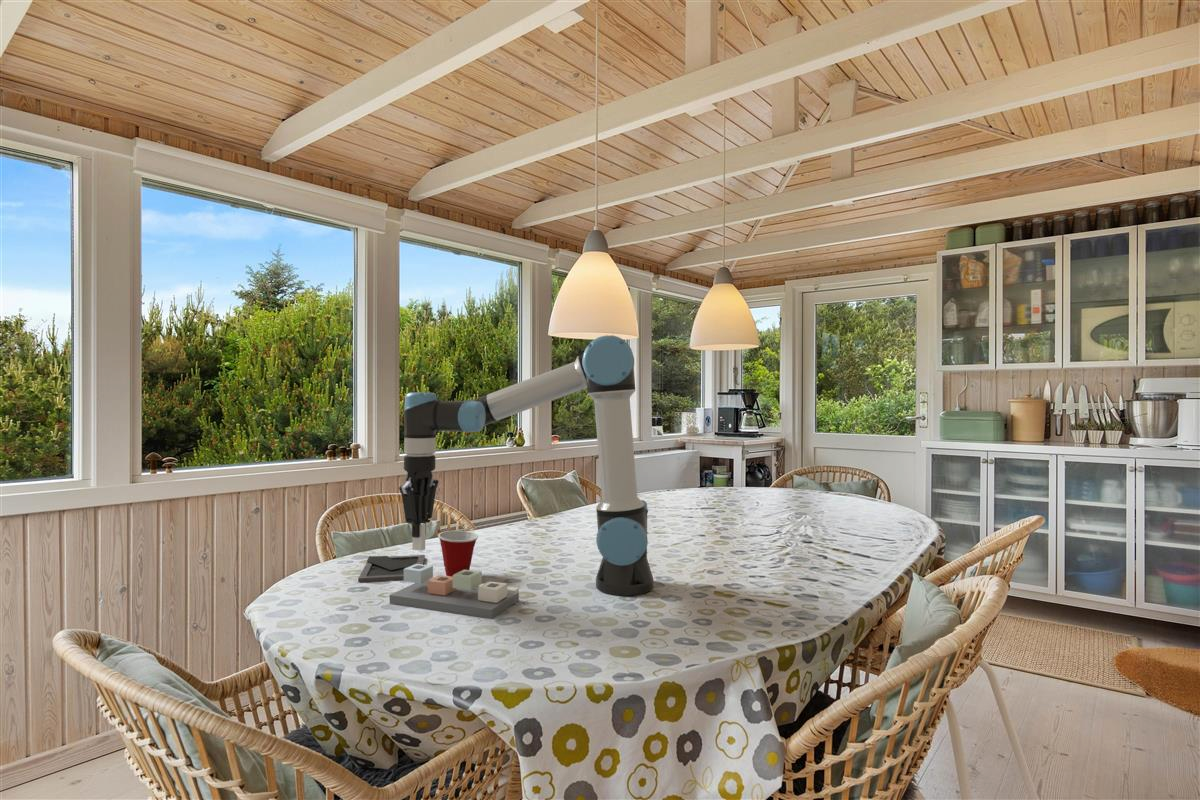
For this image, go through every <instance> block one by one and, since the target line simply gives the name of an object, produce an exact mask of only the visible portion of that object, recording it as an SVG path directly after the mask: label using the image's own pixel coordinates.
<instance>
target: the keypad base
mask: <svg viewBox="0 0 1200 800" xmlns="http://www.w3.org/2000/svg"><path fill="white" fill-rule="evenodd" d="M435 577H436V576H435ZM435 577H434V576H433V578H435ZM433 578H431V579H433ZM429 580H430V579H429ZM483 584H484V583H482V584H481V585H479V586H477V587H476V588H474V589H472V590H465V589H458V588H457V590H455V591H453V592H451V593H449V594H447V595H446V596H445V595H437V594H430V593H428V580H427V581H425V582H423V583H414V582H413V583H412V584H410V585H408V586H406V587H403V588H402V589H398V590H397V591H395V592H393V593H391V594H389V604H391V603H393V605H398V604H399V605H400V606H404V605H406V606H405V607H411V606H413V607H412V608H418V607H420V608H419V609H424V608H425V609H426V610H431V609H432V610H431V611H437V610H438V611H439V612H444V613H452V614H458V615H464V616H470V617H471V616H473V617H479V618H484V619H485V618H486V619H491V620H492V619H494V618H496V617H497V616H498V615H500V614H501V613H503V612H504V611H506V610H507V609H508V608H510V607H511V606H512V605H514V604H516V603H517V602H518V600H520V599H519V598H520V588H519V587H512V586H507V597H505V598H504V599H502V600H501V601H499V602H497V603H494V602H487V601H480V600H478V587H480V586H482V585H483ZM515 602H516V603H515ZM502 611H503V612H502ZM499 613H500V614H499Z"/></svg>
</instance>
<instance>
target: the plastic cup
mask: <svg viewBox="0 0 1200 800" xmlns="http://www.w3.org/2000/svg"><path fill="white" fill-rule="evenodd" d="M437 536H438V539H439V543H440V547H441V552H442V560H443V566H444V570H445V576H451V577H453V575H454V574H456V573H458V572H460V571H462V570H470V569H471V565H472V560H473V554H474V549H475V548H474V547H475V545H476V542H477V539H479V535H478V533H475V532H473V531H467V530H446V531H443V532H439V533H438V534H437Z"/></svg>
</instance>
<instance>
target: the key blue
mask: <svg viewBox="0 0 1200 800" xmlns="http://www.w3.org/2000/svg"><path fill="white" fill-rule="evenodd" d="M433 577H434V566H433V565H431V564H430V565H429V564H424V565H423V564H414V565H412V566H410V567H407V568H405V569H404V580H403V582H408V583H413V584H414V583H423V582H425V581H427V580H429V579H431V578H433Z"/></svg>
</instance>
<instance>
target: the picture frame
mask: <svg viewBox="0 0 1200 800" xmlns="http://www.w3.org/2000/svg"><path fill="white" fill-rule="evenodd" d="M425 558H426V555H425V554H416V555H413V554H412V555H399V556H397V555H395V556H387V555H377V556H376V555H375V556H374V555H373V556H372V555H369V556H368V558H367V560H366V563H365V565H364V567H363V569H362V571H361V573H360V575H359V576H358V581H357V583H358V582H360V583H374V582H373V581H377V582H389V581H388V580H394V581H404V569H405V568H407V567H410V566H412V565H414V564H424V565H425V560H424V559H425ZM371 581H372V582H371Z"/></svg>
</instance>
